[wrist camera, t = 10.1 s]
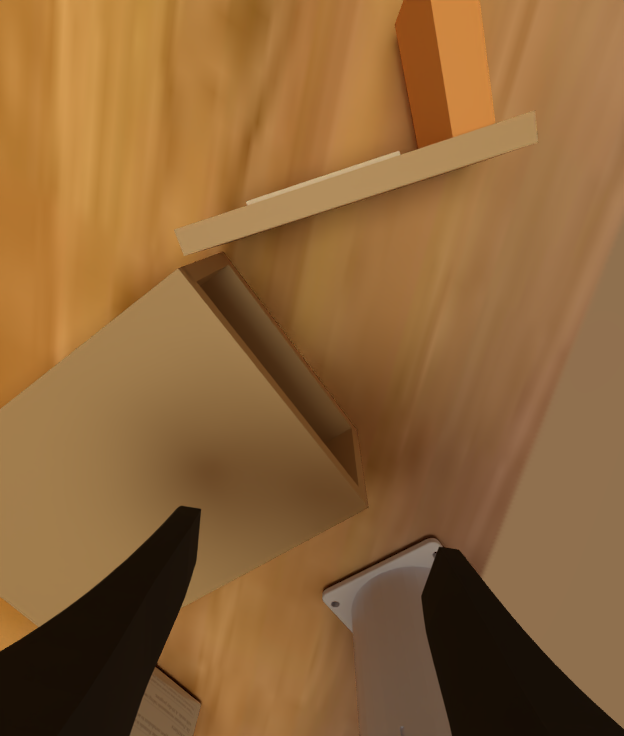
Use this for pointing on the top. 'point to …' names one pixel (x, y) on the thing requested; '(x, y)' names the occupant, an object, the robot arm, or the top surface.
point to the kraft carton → (171, 445)
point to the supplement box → (165, 709)
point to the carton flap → (430, 118)
